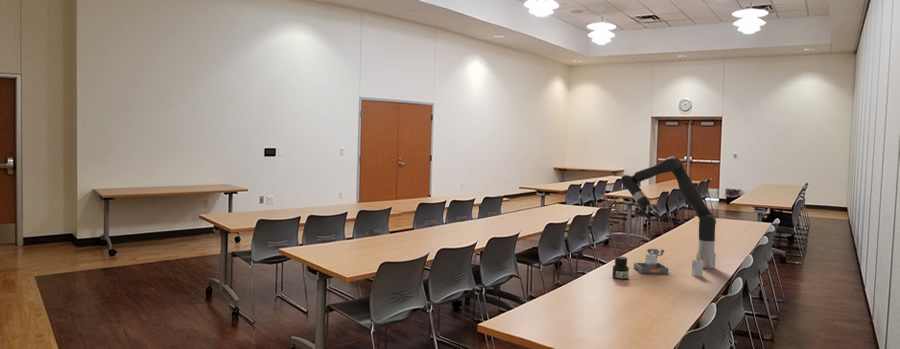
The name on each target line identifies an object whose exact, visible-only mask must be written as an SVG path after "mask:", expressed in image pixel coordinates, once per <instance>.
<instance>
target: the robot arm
mask: <svg viewBox="0 0 900 349" xmlns="http://www.w3.org/2000/svg"><path fill="white" fill-rule="evenodd" d="M665 173H672V174H673V175H674V177H675V180H676V181H677V185H678V189H679V191H680V193H681V195H682V196H683V199H684V200H685V201H686V203H687V204H688V206H690V207H691V208H692V209H693V210H694V212H695V214H696V216H697V217H698V220H699V221H698V248H697V251H698V252H697V253H700V259H701V260H703V269H706V270H707V269H709V270H710V269H715V268H716V257H717V256H716V255H717V254H716V252H715V244H716V243H715V242H716V224H717V219H716V218H715V216H714V215H713V214H712V212H711V211H710V209H709V208H708V207H707V205H706V204H705V202H704V199H703V198H702V196H701V194H700V192H699V190H698V188H696V186H695V184H694V182H693V181H692V180H691V178H690V177H689V176H690V175H688V174H687V171H686V170H685V168H684V165H683V163H682V161H681V159H680V158H678V157H677V156H670V157H667V158H666V159H664V160H663V161H661V162H660V163H658V164H655V165H653V166H650V167H647V168H644V169H640V170H638V171H635V173H634V174H633V175H629V174H624V175H622V176H621V180H620V181H621V183H622V185H623V187H625V189H626V190H628V191H629V193H630V194H631V196H632V198H633V200H634V201H635V203H636V204H637V206H638V207H637V209H638V211H639V212H640V214H641V216H645V217H646V219H647V220H648V221H650V220H652V217H651V216H650V214H653V215H654V216H655V217H656V219H657V220H660V219H661V216H660V215H659V213H660V210H659V209H658V207H657V206H656V205H655V204H652V205H651V201H650V200H649V198H648V196H647V195H646V194H645V192H644V191H643V190H642V189H641V187H640V186H639V185H638V184H639V183H640V182H644V181H646V180H649V179H650V178H654V177H655V176H658V175H661V174H665ZM649 213H650V214H649Z"/></svg>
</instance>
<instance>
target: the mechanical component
mask: <svg viewBox="0 0 900 349" xmlns="http://www.w3.org/2000/svg"><path fill="white" fill-rule="evenodd" d="M646 251H647V252H648V253H647V254H654V255H657V259H658V257H661V256H663V255H664V253H665V249H663V248H662V249H661V250H660V251H659V249H658V248H648V249H647V250H646ZM656 263H658V262H656Z"/></svg>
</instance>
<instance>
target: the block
mask: <svg viewBox="0 0 900 349" xmlns="http://www.w3.org/2000/svg"><path fill="white" fill-rule="evenodd" d="M657 260H658V258H657V255H654V254H649V253H647V254H645V260H644V261H645V262H644V263H645V268H656V262H657ZM657 263H658V262H657Z"/></svg>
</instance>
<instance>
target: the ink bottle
mask: <svg viewBox="0 0 900 349" xmlns="http://www.w3.org/2000/svg"><path fill="white" fill-rule="evenodd" d="M629 269H630V267H629V266H628V257H625V256H615V257H614V264H613V265H612V275H611V276H612V278H613V279H615V280H619V281H620V280H622V281H623V280H624V281H625V280H628V279H629V277H630V274H629V273H630V272H629Z"/></svg>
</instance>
